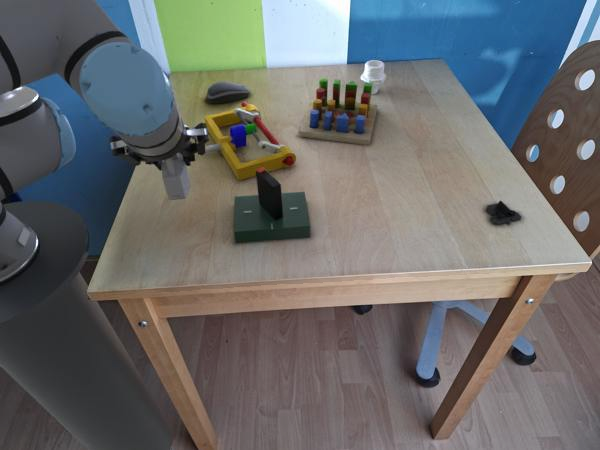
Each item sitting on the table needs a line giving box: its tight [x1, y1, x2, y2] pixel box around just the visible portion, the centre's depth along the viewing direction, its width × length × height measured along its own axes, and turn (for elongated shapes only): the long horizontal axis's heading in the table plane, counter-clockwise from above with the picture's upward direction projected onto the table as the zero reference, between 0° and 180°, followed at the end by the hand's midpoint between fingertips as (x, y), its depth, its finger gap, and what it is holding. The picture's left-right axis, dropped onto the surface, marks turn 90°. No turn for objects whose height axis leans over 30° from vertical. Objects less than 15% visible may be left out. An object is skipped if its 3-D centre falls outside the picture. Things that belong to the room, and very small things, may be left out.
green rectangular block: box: [233, 191, 311, 244], centre depth 82 cm, size 14×10×3 cm
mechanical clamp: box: [203, 101, 297, 181], centre depth 100 cm, size 18×6×30 cm
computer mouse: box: [205, 80, 250, 104], centre depth 119 cm, size 7×12×4 cm, turn 112°
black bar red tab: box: [255, 167, 283, 220], centre depth 78 cm, size 6×2×8 cm, turn 35°
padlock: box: [161, 153, 191, 201], centre depth 71 cm, size 7×4×10 cm, turn 8°
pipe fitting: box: [360, 59, 387, 95], centre depth 118 cm, size 6×7×8 cm
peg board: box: [298, 77, 378, 146], centre depth 106 cm, size 18×17×9 cm
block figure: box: [485, 200, 522, 226], centre depth 82 cm, size 6×2×6 cm
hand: (174, 160), depth 75 cm, fingers closed on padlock, 4 cm apart
